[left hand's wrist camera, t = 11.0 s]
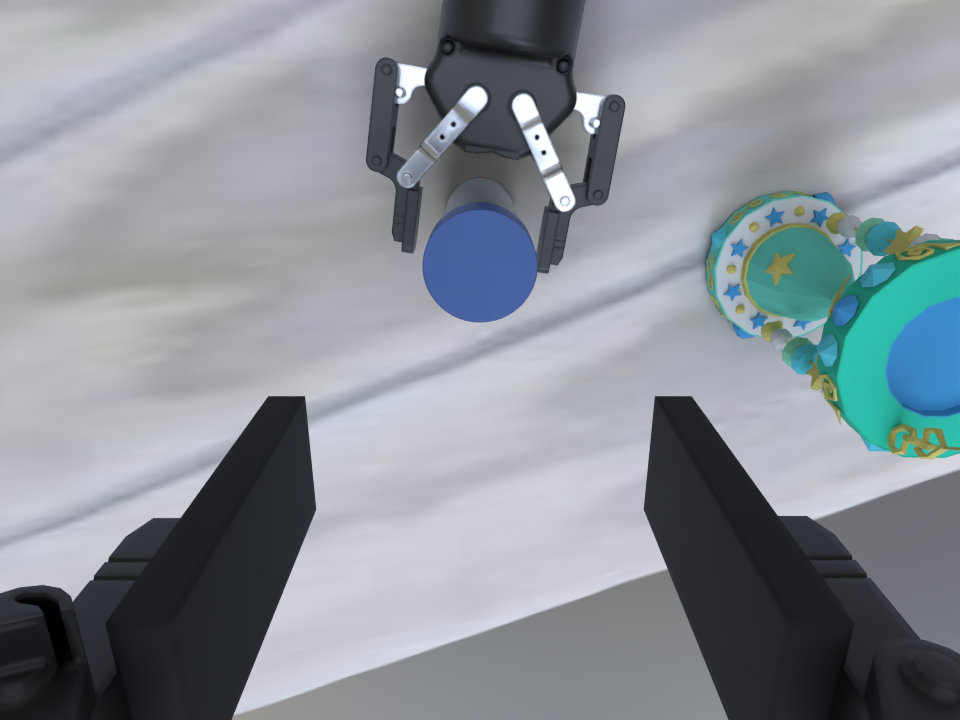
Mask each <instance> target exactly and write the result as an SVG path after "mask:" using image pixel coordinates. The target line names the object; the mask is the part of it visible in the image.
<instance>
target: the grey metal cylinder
mask: <svg viewBox="0 0 960 720" xmlns="http://www.w3.org/2000/svg"><path fill="white" fill-rule="evenodd" d="M475 202H485V203H492V204H496V205H498V206H501V207H503V208H505V209H507V210H509V211H510V212H512V213H513V214H514V215H515V216H517V215H516V212H515V209H514V206H513V203H512V200H511V197H510V195H509V194H508V192H507V191H506V190H505V188H504V187H502V186H501V185H500V184H499V183H497V182H495V181H493V180H490V179H486V178H474V179H470V180H467V181H465V182H463V183H461V184H460V185H459V186H458V187H457V188H456V189H455V190H454V191H453V192H452V194H451V195H450V198H449V200H448V203H447V206H446V209H445V212H444V215H443V217H444V216H445V215H446V214H447V213H448V212H450V211H451V210H453V209H455V208H457V207H459V206H462V205H464V204H469V203H475Z"/></svg>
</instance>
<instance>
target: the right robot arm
mask: <svg viewBox="0 0 960 720" xmlns="http://www.w3.org/2000/svg"><path fill="white" fill-rule="evenodd" d="M584 4H585V0H443V3H442V12H441V20H440V29H439V38H438V46H437V51H436V54H435V57H434V59H433V61H432V62H431V64H430V65H429V67H428V68H422V67H417V66H411V65H405V64H400V63H398V62H396V61H394V60H392V59H390V58H382V59H380V60H379V61H378V62H377V64H376V68H375V77H374V87H373V97H372V106H371V116H370V126H369V135H368V145H367V155H366V163H367V166H368V167H369V168H370V169H371V170H372V171H375V172H379V173H381V174H383V175H384V176H386V177H388V178H390V179H391V180H392V181H393V183H394V184H395V187H396V196H395V206H394V216H393V226H392V234H393V238H394V241H398V242H402V252H406V253H414V251H415V248H416V241H417V233H418V224H419V215H420V207H421V198H422V189H423V187H419V185H420V179H421V178H422V177H423V175H424V174H425V173H426V172H427V171H428V170H429V169H430V167H431V166H432V165H433V164H434V163H435V162H436V161H437V160H438V159H439V157H440V156H441V155H442V154H443V153H444V152H445V151H446V149H447V148H448V147H449V146H450V145H451V144H452V143H453V142H454V144H455V145H456V146H458V147H459V148H461V149H463V150H464V152H470V153H476V154H479V153H487V152H493V153H496V154H498V155H500V156H502V157H504V158H509V159H516V160H519V158H524V157H527V156H529V155H531V157H532V159H533V162H534V164H535V166H536V168H537V170H538V172H539V174H540V176H541V179H542V181H543V183H544V185H545V187H546V190H547V192H548V194H549V196H550V201H549V207H547V206H545V208H544V214H543V219H542V225H541V230H540V236H539V242H538V247H537V253H536V256H537V272H540V273H547V274H548V272H549V269H550V264H552V265H558V264H559V262H560V261H561V259H562V258H563V252H564V247H565V241H566V237H567V232H568V226H569V221H570V217H571V215H572V213H573V212H574V211H575V210H576V209H578V208H580V207H585V206H590V205H602V204H603V203H605V202H606V200H607V199H608V195H609V190H610V184H611V179H612V174H613V169H614V163H615V158H616V153H617V148H618V142H619V137H620V132H621V127H622V121H623V116H624V111H625V102H624V100H623V98H622V97H621V96H619V95H614V94H610V95H605V96H600V95H593V94H586V93H579V92H576V89H575V86H574V82H573V65H574V60H575V54H576V48H577V43H578V37H579V32H580V26H581V21H582V15H583V10H584ZM420 86H425V89H426V91H427V93H428V95H429V97H430V99H431V101H432V103H433V105H434V107H435V109H436V111H437V113H438V115H439V117H440V119H441V122H440V123H439V124H438V125H437V126H436V128H435V129H434V130H433V131H432V132H431V133H430V135H429V136H428V137H427V138H426V139H425V140H424V141H423V143H422V144H421V145H420V146H419V148H418V149H417V150H416V151H415V152H414V153H413V154H412V156H411V157H410V158H409V159H408V160H405V159H404V158H402V157H400V156H398V155H396V154H395V153H393V151H394V142H395V134H396V125H397V116H398V108H399V104H406V103H408V102H409V101H410V100H411V99H412V96H413V93H414V91H415V90H416V89H417V88H418V87H420ZM573 110H576V111H577V112H578V113H579V114H580V116H581V124H582V128H583V129H584V131H585V132H587V133H590V134H591V138H590V144H589V150H588V155H587V161H586V167H585V172H584V178H583V182H581V183H576V184H571V185H569V182H568V180H567V178H566V176H565V173H564V171H563V168H562V165H561V163H560V160H559V158H558V156H557V154H556V151H555V149H554V147H553V145H552V142H551V140H550V138H549V136H550V135H551V134H552V133H553V132H554V131H555V130H556V129H557V128H558V127H559V126H560V124H561V123H562V122H563V121H564V120H565V119H566V118H567V117H568V116H569V115H570V114H571V113H572V112H573Z"/></svg>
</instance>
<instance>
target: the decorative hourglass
mask: <svg viewBox="0 0 960 720" xmlns="http://www.w3.org/2000/svg"><path fill="white" fill-rule="evenodd" d="M835 205H836V204H835V202H834V200H833V198H832V196H831V194H829V193H826V192H825V193H820V194H814V195H813V197H812V196H810V195H808V194H804V193H800V192H793V191H788V192H782V193H777V194H771V195H766V196H760V197H759V198H757V199H755V200H753V201H752V202H750V203H748V204H747V205H745V206H743V207H742V208H740V209H738V210H737V211H735V212H734V213H733V214H732V215H731V216H730V218H729V219H728V220H727V221H726V223H725V224H724V225H723V226H722V227H721V229H719V230H718V231H716V232H715V233H713V234H712V245H711V248H710V251H709V254H708V257H707V260H706V277H707V290H708V292H709V293H710V295H711V298H712V300H713V302H714V304H715V305H716V307H717V308H718V310H719V312H720V314H721V315H722V316H724V317H725V318H726V319H727V320H729V321H731V322H733V323H734V325H733V328H734V330H735V332H736V334H737V336H739V337H741V338H749V337H754V336H757V337H760V338H764V339H765V340H767V341H769V342H771V344H772V345H773V346H774V348H777V349H781V350H782V349H783V350H782V357H783V361H784V362H785V363H786V364H787V365H788V366H791V368H792V369H793V370H795V371H796V372H797V373H798V374H805V375H810V376H812V382H811V388H812V389H815V390H817V391H818V390H819V388H821V393H822V394H823V395H824V397H825V399H826V401H827V402H828V403H829V404H830V406H831V407H832V408H833V409H834V411H835V412H836V415H837V417H838V420H839V422H840V425H841V419H840V416H841V417H842V418H843V419H844V420H845V422H846V423H847V424H848V425H849V426H850V427H852V428H853V429H854V430H855V431H856V432H857V433H858V434H860V436H861V438H862V439H863V441H864V443H865V445H866V446H867V448H868V450H869V451H890V452H892V453H893V454H897V455H900V456H902V457H920V458H923V459H934V458H946V457H949V456H952V455H955V454H958V453H960V240H954V239H943V238H940V237H939V236H938V235H935V234H924V235H922V236H920V234H921V233H922V231H923V229H922V228H920V227H918V226H915V227H914V228H912V229H911V230H909V231H908V232H907V233H905V232H903V231H902V230H901V229H900V228H899V226H898V225H897V224H896V223H895V222H885V221H884V220H883V219H879V218H870V219H869V220H867V221H865V222H863V223H862V222H861V221H860V220H859V218H857V217H855V216H847V215H846V214H845V213H844V212H843V211H841V210H840V209H839V208H838V207H837V206H835ZM919 236H920V237H919ZM862 251H870V252H871V253H872V254H873V255H876V256H885V257H884V258H882V259H881V260H880V261H879V262H878V263H876V264H874V265H870V266H869V267H868V269H867V270H866V272H865V273H864V274H863V275H862V276H860V275H861V273H862ZM888 254H889V255H888ZM886 255H888V256H886ZM822 325H824V328H823V333H822V338H821V341H820V343H819V344H818V346H817V345H813V344H812V343H811V342H810V341H809V340H808V339H807V338H800V337H799V336H804V335H806V334H807V333H809V332H811V331H813V330H815V329H817V328H819V327H820V326H822ZM793 337H797V338H795V339H793V340H792V338H793Z"/></svg>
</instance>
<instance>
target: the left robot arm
mask: <svg viewBox="0 0 960 720" xmlns="http://www.w3.org/2000/svg"><path fill="white" fill-rule="evenodd" d="M315 511H316V503H315V493H314V482H313V472H312V462H311V452H310V442H309V432H308V422H307V412H306V402H305V396H268V398H267V399H266V400H265V402H264V403H263V405H262V406H261V407H260V409H259V410H258V411H257V413H256V414H255V416H254V417H253V418H252V420H251V421H250V423H249V424H248V425H247V427H246V428H245V430H244V431H243V432H242V434H241V435H240V436H239V438H238V439H237V441H236V442H235V443H234V445H233V446H232V448H231V449H230V450H229V452H228V453H227V454H226V456H225V457H224V459H223V460H222V461H221V463H220V464H219V466H218V467H217V468H216V470H215V471H214V473H213V474H212V475H211V477H210V478H209V479H208V481H207V482H206V484H205V485H204V486H203V488H202V489H201V491H200V492H199V493H198V495H197V496H196V498H195V499H194V500H193V502H192V503H191V504H190V506H189V507H188V509H187V510H186V511H185V513H184V514H183V516H182V517H181V518H153V519H151V520H150V521H148V522H147V523H146V524H144V525H143V526H141V527H140V528H138V529H137V530H135V531H134V532H132V533H131V534H129V535H128V536H126V537H125V538H124V540H123V541H122V542H121V543H120V545H119V546H118V547H117V548H116V550H115V551H114V552H113V553H112V554H111V556H110V557H109V560H108V562H105V563H104V564H103V565H102V567H101V568H100V569H99V570H98V572H97V573H96V574H95V575H94V580H93V581H89V583H88V584H87V585H86V586H85V588H84V589H83V590H82V591H81V592H80V594H79V595H78V596H77V597H76V599H75V600H74V601H73V602H72V599H71V596H70V595H69V594H67V593H66V592H65V591H63V590H62V589H61V588H57V587H51V586H45V585H39V586H30V587H20V588H16V589H13V590H10V591H7V592H3V593H0V720H232V717H233V715H234V712H235V710H236V707H237V705H238V702H239V700H240V697H241V695H242V692H243V690H244V687H245V685H246V682H247V680H248V677H249V675H250V672H251V670H252V667H253V665H254V663H255V660H256V658H257V655H258V653H259V650H260V648H261V645H262V643H263V640H264V638H265V635H266V633H267V630H268V628H269V625H270V623H271V620H272V618H273V615H274V613H275V610H276V608H277V605H278V603H279V600H280V598H281V595H282V593H283V591H284V588H285V586H286V583H287V581H288V578H289V576H290V573H291V571H292V568H293V566H294V563H295V561H296V558H297V556H298V553H299V551H300V548H301V546H302V543H303V541H304V538H305V536H306V533H307V531H308V528H309V526H310V523H311V521H312V519H313V516H314V514H315ZM644 511H645V514H646V516H647V519H648V521H649V523H650V526H651V528H652V531H653V533H654V536H655V538H656V541H657V543H658V546H659V548H660V551H661V553H662V556H663V558H664V561H665V563H666V566H667V568H668V571H669V573H670V576H671V578H672V581H673V583H674V585H675V588H676V591H677V593H678V595H679V598H680V600H681V603H682V605H683V608H684V610H685V613H686V615H687V618H688V620H689V623H690V625H691V628H692V630H693V633H694V635H695V638H696V640H697V643H698V645H699V648H700V650H701V653H702V655H703V658H704V660H705V662H706V665H707V667H708V670H709V672H710V675H711V677H712V680H713V682H714V685H715V687H716V690H717V692H718V695H719V697H720V700H721V702H722V705H723V707H724V710H725V712H726V715H727V717H728V719H729V720H960V654H958V653H957V652H955V651H953V650H951V649H949V648H946V647H943V646H941V645H938V644H935V643H932V642H929V641H926V640H921V639H920V638H919V637H918V636H917V634H916V633H915V632H914V631H913V630H912V628H911V627H910V626H909V625H908V623H907V622H906V621H905V620H904V619H903V617H902V616H901V615H900V614H899V612H898V611H897V610H896V609H895V608H894V606H893V605H892V604H891V603H890V601H889V600H888V599H887V598H886V597H885V595H884V594H883V593H882V592H881V591H880V589H879V588H878V587H877V586H876V584H875V583H874V582H873V581H872V580H871V578H867V574H866V572H865V571H864V570H863V569H862V567H861V566H860V565H859V564H858V563H857V561H856V560H852V555H851V554H850V553H849V552H848V550H847V549H846V548H845V547H844V545H843V544H842V543H841V542H840V541H839V539H838V538H837V537H836V536H835V535H834V534H833V533H832V532H830V531H829V530H827V529H826V528H824V527H823V526H821V525H820V524H818V523H817V522H815V521H814V520H812V519H811V518H809V517H808V516H777V514H776V513H775V511H774V510H773V509H772V507H771V506H770V504H769V503H768V502H767V500H766V499H765V498H764V496H763V495H762V493H761V492H760V491H759V489H758V488H757V486H756V485H755V484H754V482H753V481H752V479H751V478H750V477H749V475H748V474H747V473H746V471H745V470H744V468H743V467H742V466H741V464H740V463H739V461H738V460H737V459H736V457H735V456H734V454H733V453H732V452H731V450H730V449H729V448H728V446H727V445H726V443H725V442H724V441H723V439H722V438H721V436H720V435H719V434H718V432H717V431H716V430H715V428H714V427H713V425H712V424H711V423H710V421H709V420H708V418H707V417H706V416H705V414H704V413H703V411H702V410H701V409H700V407H699V406H698V405H697V403H696V402H695V400H694V399H693V398H692V396H655V402H654V412H653V422H652V432H651V442H650V452H649V462H648V472H647V482H646V493H645V503H644Z"/></svg>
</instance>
